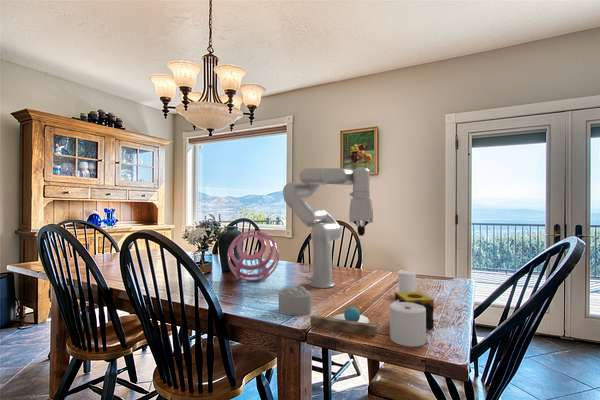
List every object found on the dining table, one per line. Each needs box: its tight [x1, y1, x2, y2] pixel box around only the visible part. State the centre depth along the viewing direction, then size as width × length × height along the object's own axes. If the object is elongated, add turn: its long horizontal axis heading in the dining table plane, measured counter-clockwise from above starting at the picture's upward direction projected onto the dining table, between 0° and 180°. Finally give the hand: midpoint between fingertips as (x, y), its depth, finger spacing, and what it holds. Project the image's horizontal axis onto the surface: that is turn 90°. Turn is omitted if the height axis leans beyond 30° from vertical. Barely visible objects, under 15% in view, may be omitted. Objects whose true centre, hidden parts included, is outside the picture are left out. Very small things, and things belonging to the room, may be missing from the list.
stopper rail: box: [310, 315, 378, 337], centre depth 109 cm, size 22×2×3 cm, turn 66°
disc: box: [332, 312, 370, 324], centre depth 118 cm, size 13×13×1 cm
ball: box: [343, 306, 361, 322], centre depth 115 cm, size 6×6×6 cm
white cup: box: [397, 270, 417, 292], centre depth 151 cm, size 8×8×10 cm
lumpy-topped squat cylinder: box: [277, 286, 312, 317], centre depth 129 cm, size 10×13×9 cm
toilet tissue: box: [389, 300, 427, 347], centre depth 102 cm, size 11×12×10 cm
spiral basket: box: [227, 230, 280, 283], centre depth 181 cm, size 28×28×27 cm
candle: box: [394, 291, 435, 330], centre depth 114 cm, size 10×10×10 cm
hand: (361, 235), depth 151 cm, fingers closed
